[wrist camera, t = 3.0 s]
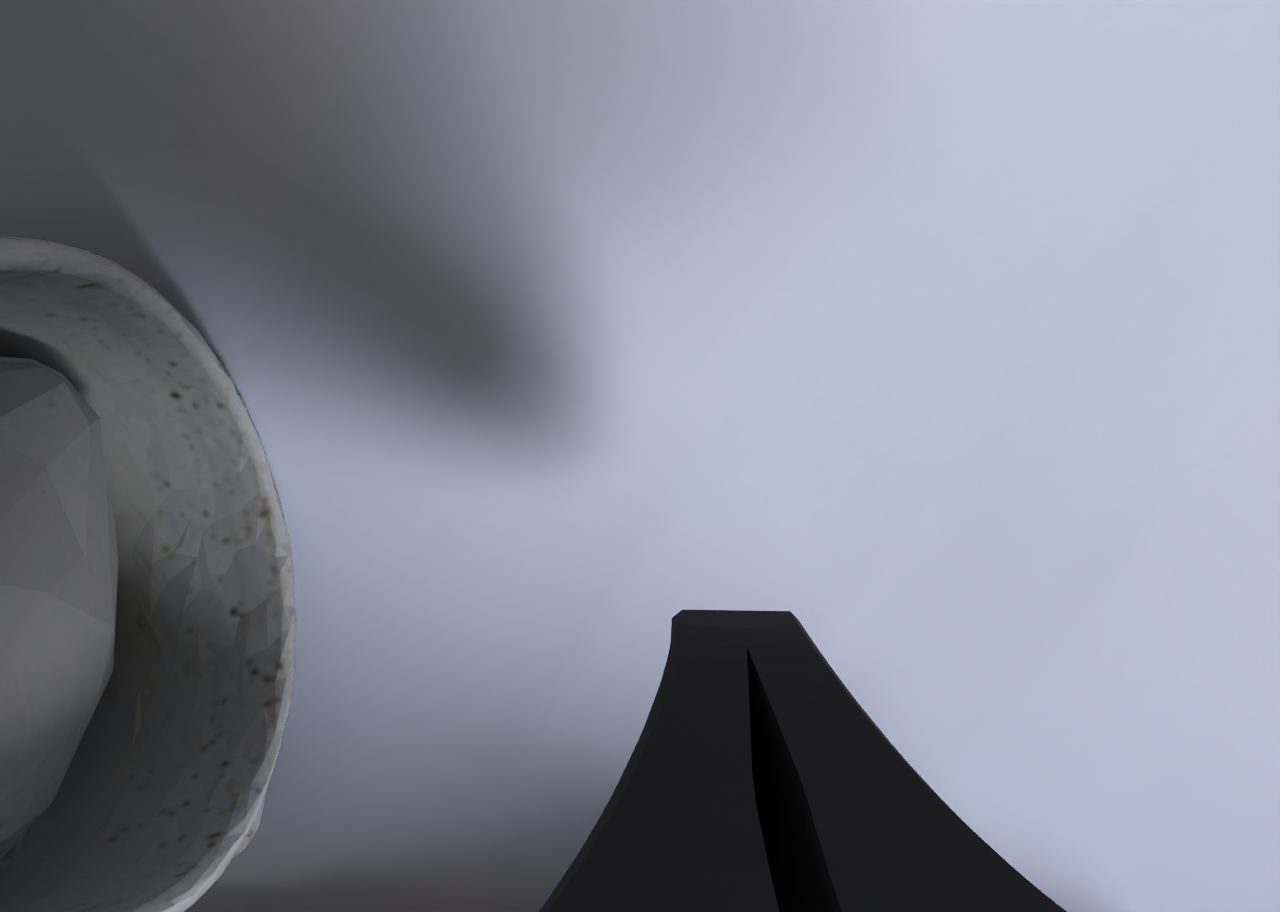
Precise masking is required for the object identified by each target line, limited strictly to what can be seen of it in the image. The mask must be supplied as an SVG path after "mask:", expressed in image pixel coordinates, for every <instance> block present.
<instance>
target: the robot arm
mask: <svg viewBox="0 0 1280 912" xmlns="http://www.w3.org/2000/svg"><path fill="white" fill-rule="evenodd" d="M540 912H1066V911H1065V910H1064V909H1062V908H1061V907H1060V906H1059V905H1057V904H1056V903H1055V902H1054V901H1052V900H1051V899H1050V898H1048V897H1047V896H1046V895H1045V894H1043V893H1042V892H1041V891H1040V890H1039V889H1037V888H1036V887H1035V886H1034V885H1033V884H1032V883H1030V882H1029V881H1028V880H1027V879H1026V878H1024V877H1023V876H1022V875H1021V874H1020V873H1019V872H1017V871H1016V870H1015V869H1014V868H1013V867H1012V866H1011V865H1009V864H1008V863H1007V862H1006V861H1005V860H1004V859H1003V858H1002V857H1001V856H1000V855H999V854H997V853H996V852H995V851H994V850H993V849H992V848H991V847H990V846H989V845H988V844H987V843H985V842H984V841H983V840H982V839H981V838H980V837H979V836H978V835H977V834H976V833H975V832H974V831H972V830H971V829H970V828H969V827H968V826H967V825H966V824H965V823H964V822H963V821H962V820H961V819H960V818H959V817H958V816H957V815H956V814H955V813H954V812H953V811H952V810H951V809H950V807H949V806H948V805H947V804H946V803H945V802H944V801H943V800H942V799H941V798H940V797H939V796H938V795H937V794H936V793H935V792H934V791H933V790H932V789H931V787H930V786H929V785H928V784H927V783H926V782H925V781H924V780H923V779H922V778H921V777H920V776H919V774H918V773H917V772H916V771H915V770H914V769H913V768H912V767H911V766H910V765H909V764H908V762H907V761H906V760H905V759H904V758H903V757H902V755H901V754H900V753H899V752H898V751H897V750H896V749H895V747H894V746H893V745H892V744H891V743H890V742H889V740H888V739H887V738H886V737H885V736H884V734H883V733H882V732H881V731H880V729H879V728H878V727H877V726H876V725H875V723H874V722H873V721H872V720H871V718H870V717H869V716H868V715H867V714H866V712H865V711H864V710H863V709H862V707H861V706H860V705H859V704H858V702H857V701H856V700H855V698H854V697H853V696H852V695H851V693H850V692H849V691H848V689H847V688H846V687H845V685H844V684H843V683H842V681H841V680H840V679H839V677H838V676H837V675H836V673H835V672H834V671H833V669H832V668H831V667H830V665H829V664H828V662H827V661H826V660H825V658H824V657H823V655H822V654H821V653H820V651H819V650H818V648H817V647H816V645H815V644H814V643H813V641H812V640H811V638H810V637H809V635H808V634H807V632H806V631H805V629H804V628H803V626H802V625H801V623H800V622H799V620H798V619H797V618H796V617H795V616H794V615H793V614H792V613H791V612H790V611H727V610H682V611H680V612H679V613H678V614H677V615H675V616H674V617H673V618H672V628H671V644H670V650H669V654H668V659H667V663H666V666H665V669H664V673H663V676H662V680H661V683H660V686H659V689H658V692H657V694H656V697H655V700H654V702H653V705H652V708H651V711H650V713H649V716H648V719H647V721H646V724H645V727H644V729H643V731H642V734H641V736H640V738H639V741H638V743H637V745H636V747H635V749H634V751H633V753H632V755H631V757H630V760H629V762H628V764H627V766H626V768H625V770H624V772H623V774H622V776H621V779H620V781H619V783H618V785H617V787H616V789H615V791H614V793H613V795H612V796H611V798H610V800H609V802H608V804H607V806H606V807H605V809H604V811H603V813H602V815H601V816H600V818H599V820H598V822H597V824H596V825H595V827H594V829H593V830H592V832H591V834H590V835H589V837H588V839H587V840H586V842H585V844H584V845H583V847H582V849H581V850H580V852H579V854H578V855H577V857H576V858H575V860H574V861H573V863H572V864H571V866H570V867H569V869H568V870H567V872H566V873H565V875H564V876H563V878H562V879H561V881H560V882H559V884H558V885H557V887H556V888H555V890H554V891H553V893H552V894H551V896H550V897H549V899H548V900H547V902H546V903H545V905H544V906H543V907H542V909H541V910H540Z"/></svg>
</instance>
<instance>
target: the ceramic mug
mask: <svg viewBox="0 0 1280 912" xmlns="http://www.w3.org/2000/svg"><path fill="white" fill-rule="evenodd" d="M295 627H296V612H295V603H294V575H293V562H292V556H291V549H290V542H289V536H288V532H287V528H286V524H285V520H284V516H283V512H282V507H281V503H280V499H279V495H278V492H277V489H276V486H275V483H274V480H273V477H272V474H271V470H270V467H269V464H268V460H267V457H266V454H265V450H264V447H263V445H262V443H261V441H260V439H259V436H258V434H257V432H256V429H255V427H254V425H253V422H252V420H251V417H250V415H249V413H248V410H247V408H246V406H245V403H244V402H243V400H242V399H241V398H240V396H239V395H238V394H237V391H236V389H235V386H234V384H233V382H232V380H231V378H230V377H229V375H228V374H227V372H226V371H225V369H224V368H223V366H222V364H221V363H220V362H219V360H218V359H217V357H216V356H215V354H214V353H213V351H212V350H211V348H210V347H209V345H208V344H207V343H206V341H205V340H204V338H203V337H202V335H201V334H200V332H199V331H198V330H197V328H196V327H194V326H193V325H192V324H191V323H190V322H189V321H188V320H187V319H186V318H185V317H184V316H183V315H182V314H181V313H180V312H179V311H178V310H177V309H176V308H175V307H174V306H173V305H172V304H171V303H170V302H168V301H167V300H166V299H165V298H164V297H163V296H162V295H161V294H160V293H159V292H158V291H157V290H156V289H155V288H154V287H153V286H152V285H150V284H149V283H147V282H146V281H144V280H143V279H141V278H140V277H138V276H137V275H135V274H134V273H132V272H131V271H129V270H127V269H126V268H124V267H123V266H121V265H119V264H118V263H116V262H114V261H111V260H109V259H107V258H104V257H102V256H99V255H97V254H94V253H92V252H89V251H87V250H84V249H81V248H77V247H73V246H69V245H65V244H60V243H56V242H52V241H47V240H42V239H33V238H24V237H14V236H5V235H0V912H184V911H185V910H186V909H188V908H189V907H190V906H191V905H193V904H194V903H195V902H196V901H197V900H198V899H199V898H200V897H201V896H202V895H203V894H204V893H205V892H206V891H207V890H208V889H209V888H210V887H211V886H212V884H213V883H214V882H215V881H216V880H217V879H218V878H219V877H220V876H221V875H222V873H223V872H224V870H225V869H226V867H227V866H228V864H229V862H230V861H231V859H233V858H235V857H237V856H238V855H239V854H240V853H241V852H242V851H244V849H245V848H246V847H247V846H248V845H249V844H250V842H251V840H252V838H253V836H254V834H255V832H256V830H257V829H258V828H259V825H260V821H261V817H262V813H263V808H264V803H265V798H266V793H267V788H268V784H269V781H270V778H271V775H272V772H273V769H274V766H275V763H276V760H277V757H278V754H279V751H280V746H281V742H282V737H283V732H284V728H285V725H286V721H287V717H288V713H289V710H290V706H291V692H292V682H293V675H294V641H295Z"/></svg>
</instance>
